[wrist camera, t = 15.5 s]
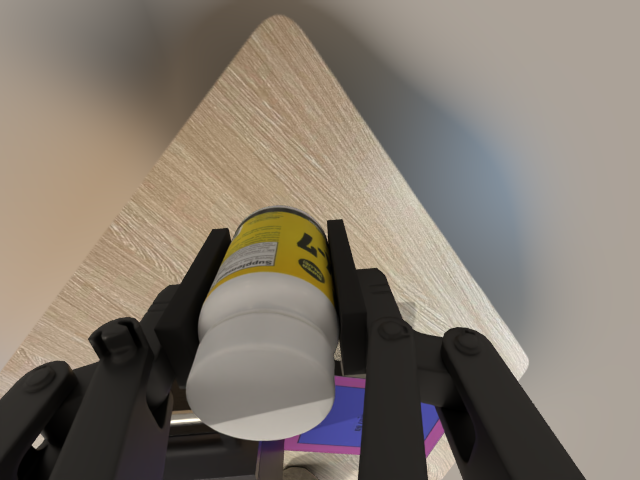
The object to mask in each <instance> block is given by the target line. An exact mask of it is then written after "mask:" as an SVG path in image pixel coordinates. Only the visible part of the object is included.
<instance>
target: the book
mask: <svg viewBox="0 0 640 480" xmlns="http://www.w3.org/2000/svg"><path fill="white" fill-rule="evenodd" d="M334 377H335V399H334V403H333V406H332V408H331V410H330V412H329V414H328V415H327V416H326V417H325V419H324V420H323V421H322V422H321V423H319V424H318V425H317V426H315V427H314V428H312V429H310V430H309V431H307V432H305V433H302V434H299V435H296V436H293V437H290V438H285V442H284V450H288V451H304V452H321V453H337V454H354V455H360V447H361V433H362V420H363V407H364V394H365V381H366V374H358V375H346V376H344V373H343V365H342V361H335V369H334ZM421 411H422V422H423V433H424V443H425V454H426V458H427V457H428V455H429V454H430V452H431V451H432V450H433V448H434V447H435V445H436V444H437V442H438V441H439V440H440V438H441V437H442V435H443V434H444V430H443V427H442V424H441V422H440V419H439V417H438V414H437V412H436V409H435V406H434V405H429V404H425V403H421Z"/></svg>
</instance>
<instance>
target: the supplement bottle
mask: <svg viewBox="0 0 640 480" xmlns="http://www.w3.org/2000/svg"><path fill="white" fill-rule="evenodd" d="M339 335H340V324H339V314H338V309H337V302H336V295H335V288H334V280H333V273H332V267H331V260H330V253H329V245H328V241H327V238H326V235H325V233H324V231H323V229H322V228H321V226H320V225H319V223H318V222H317V221H316V220H315V219H314V218H313V217H311V216H310V215H309V214H307V213H306V212H304V211H302V210H300V209H297V208H294V207H290V206H282V205H276V206H269V207H265V208H262V209H259V210H257V211H255V212H253V213H252V214H250V215H249V216H248V217H246V218H245V219H244V220H243V221H242V223H241V224H240V225H239V227H238V228H237V230H236V232H235V235H234V237H233V239H232V241H231V244H230V246H229V248H228V250H227V252H226V255H225V257H224V259H223V261H222V264H221V266H220V268H219V270H218V273H217V275H216V277H215V279H214V282H213V284H212V286H211V288H210V290H209V293H208V295H207V297H206V299H205V301H204V303H203V305H202V309H201V312H200V316H199V320H198V337H199V341H200V344H199V347H198V349H197V353H196V356H195V359H194V362H193V365H192V368H191V371H190V373H189V376H188V379H187V384H186V397H187V401H188V404H189V406H190V408H191V410H192V411H193V413H194V414H195V415H196V416H197V417H198V418H199V419H200V420H201V421H202V422H203V423H205V424H206V425H208V426H209V427H211V428H212V429H214V430H216V431H218V432H221V433H223V434H226V435H229V436H232V437H236V438H241V439H247V440H255V441H270V440H280V439H285V438H290V437H293V436H296V435H299V434H302V433H305V432H307V431H309V430H310V429H312V428H314V427H315V426H317V425H318V424H319V423H321V422H322V421H323V420H324V419H325V417H326V416H327V415H328V414H329V412H330V410H331V408H332V406H333V403H334V399H335V377H334V369H335V360H334V353H335V351H336V348H337V345H338V342H339Z"/></svg>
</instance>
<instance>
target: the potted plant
mask: <svg viewBox="0 0 640 480" xmlns="http://www.w3.org/2000/svg"><path fill="white" fill-rule="evenodd" d="M282 480H319V479H318V478H317V477H316V476H314V475H313V474H312V473H310V472H309V471H308V470H306V469H305V468H298V467H290V468H288V469H285V470H283V479H282Z"/></svg>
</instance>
